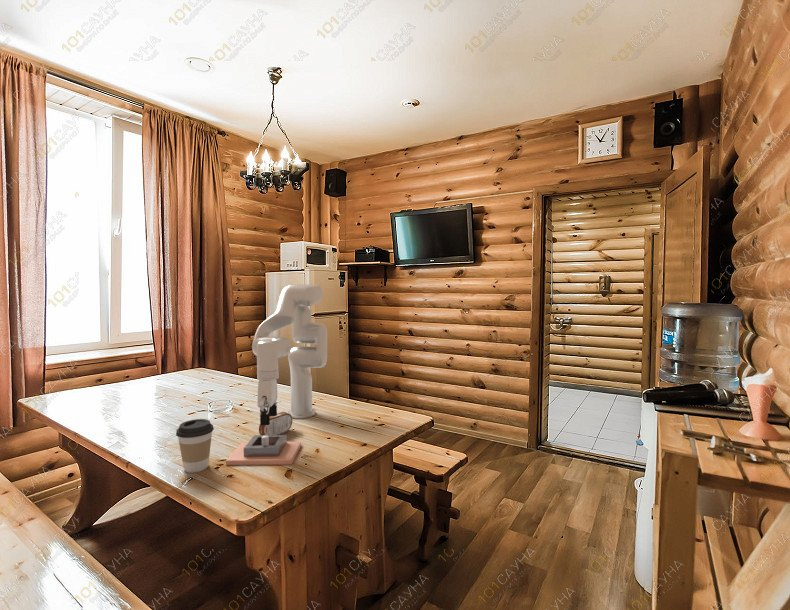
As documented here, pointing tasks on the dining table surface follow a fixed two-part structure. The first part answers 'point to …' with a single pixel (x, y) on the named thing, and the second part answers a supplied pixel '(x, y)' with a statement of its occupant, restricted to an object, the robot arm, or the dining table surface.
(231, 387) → the dining table surface
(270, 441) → the grey square frame
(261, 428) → the tin
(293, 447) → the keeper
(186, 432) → the coffee cup
